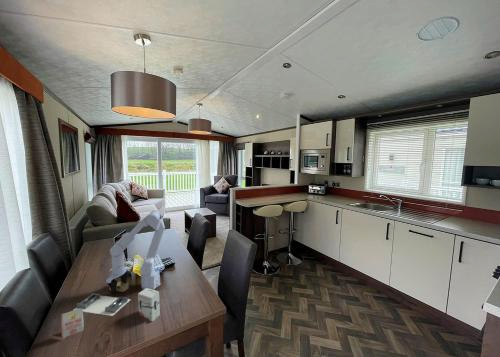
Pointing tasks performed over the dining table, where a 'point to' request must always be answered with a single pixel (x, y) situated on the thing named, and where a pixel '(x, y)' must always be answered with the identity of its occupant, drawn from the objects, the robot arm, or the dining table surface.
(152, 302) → the ink box
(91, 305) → the board
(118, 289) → the brass block
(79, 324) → the tea bag
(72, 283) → the dining table surface
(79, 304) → the chain ends
